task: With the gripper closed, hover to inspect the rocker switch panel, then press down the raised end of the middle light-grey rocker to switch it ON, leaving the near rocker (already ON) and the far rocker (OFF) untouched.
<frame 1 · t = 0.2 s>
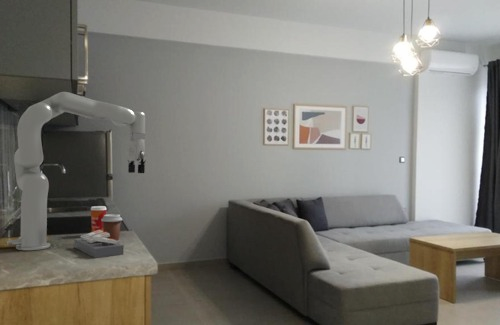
hand: (136, 172, 200), 31 cm above the worktop, fingers open, 9 cm apart
rocker middle: (98, 237, 168), point 5 cm above the worktop, hinge at -14.0°
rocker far: (92, 234, 173), point 5 cm above the worktop, hinge at -14.0°
coffee cup: (111, 242, 188), on the worktop
rocker switch panel: (98, 250, 168), on the worktop
rocker near: (104, 239, 162), point 5 cm above the worktop, hinge at 14.0°
paper cup: (98, 235, 203), on the worktop
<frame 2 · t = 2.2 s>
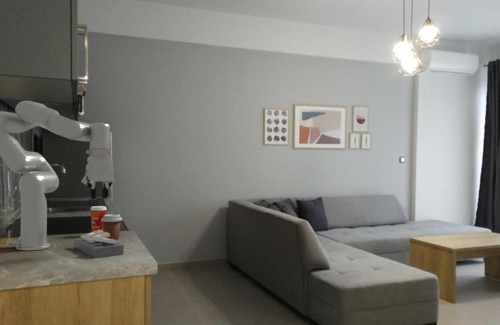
hand: (98, 198, 168), 21 cm above the worktop, fingers open, 3 cm apart
nothing on the worktop moved.
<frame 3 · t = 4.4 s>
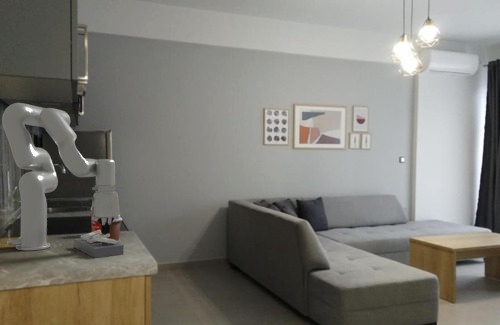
hand: (105, 234, 169), 6 cm above the worktop, fingers closed
rocker middle: (98, 237, 168), point 5 cm above the worktop, hinge at -13.7°, touching gripper
everything else where it was.
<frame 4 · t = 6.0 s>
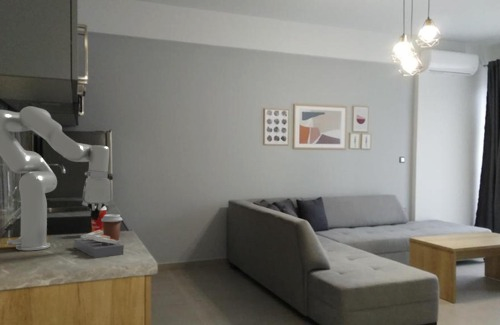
hand: (94, 219, 171), 12 cm above the worktop, fingers closed
rocker middle: (98, 237, 168), point 5 cm above the worktop, hinge at 6.6°
everything else where it was.
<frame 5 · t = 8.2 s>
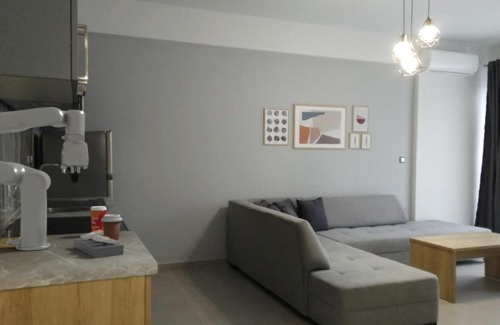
hand: (74, 182, 176), 27 cm above the worktop, fingers closed
rocker middle: (98, 237, 168), point 5 cm above the worktop, hinge at 13.0°
everything else where it was.
at the end: rocker middle at +13° (first picture: -14°); rocker near at +14° (first picture: +14°); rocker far at -14° (first picture: -14°) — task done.
